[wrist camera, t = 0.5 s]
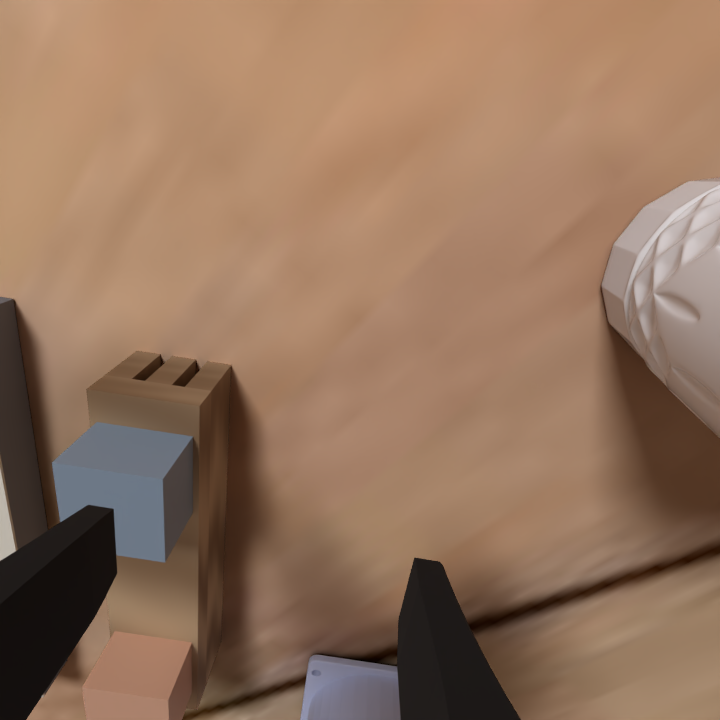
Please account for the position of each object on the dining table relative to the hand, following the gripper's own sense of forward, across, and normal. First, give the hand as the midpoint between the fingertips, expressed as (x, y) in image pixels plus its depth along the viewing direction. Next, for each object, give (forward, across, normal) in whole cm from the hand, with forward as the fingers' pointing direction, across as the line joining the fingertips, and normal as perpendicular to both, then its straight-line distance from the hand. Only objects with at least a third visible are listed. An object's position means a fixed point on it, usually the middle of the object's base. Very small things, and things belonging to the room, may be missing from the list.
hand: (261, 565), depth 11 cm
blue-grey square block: (+6, +6, +3) cm, 9 cm away
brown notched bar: (+10, +6, +8) cm, 14 cm away
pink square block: (+6, +6, +14) cm, 16 cm away
